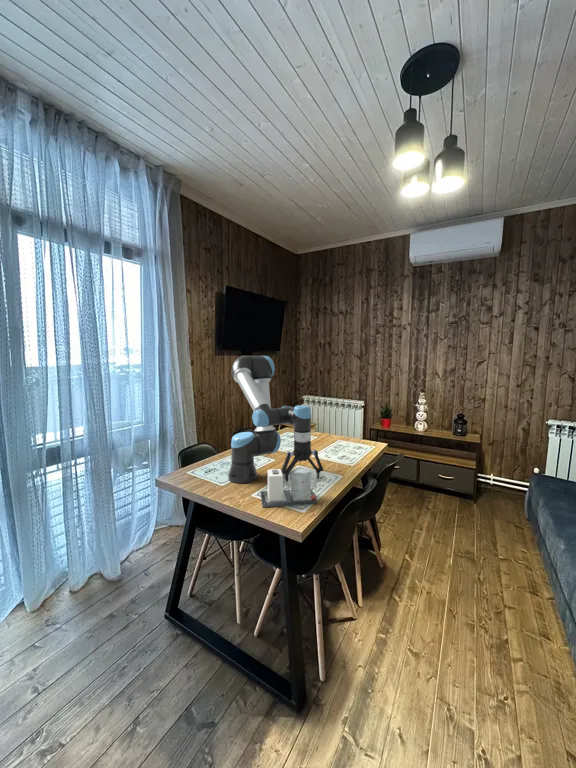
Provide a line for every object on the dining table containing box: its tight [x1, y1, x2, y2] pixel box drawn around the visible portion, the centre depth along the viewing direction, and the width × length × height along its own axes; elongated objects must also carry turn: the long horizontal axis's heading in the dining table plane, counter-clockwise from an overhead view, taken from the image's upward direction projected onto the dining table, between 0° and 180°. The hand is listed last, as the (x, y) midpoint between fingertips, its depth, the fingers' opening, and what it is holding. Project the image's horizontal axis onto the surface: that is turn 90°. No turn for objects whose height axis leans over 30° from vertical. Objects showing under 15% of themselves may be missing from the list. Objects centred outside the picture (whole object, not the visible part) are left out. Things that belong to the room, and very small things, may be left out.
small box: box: [290, 468, 312, 499], centre depth 139 cm, size 8×6×10 cm
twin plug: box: [267, 468, 284, 501], centre depth 137 cm, size 6×8×12 cm
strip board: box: [260, 488, 318, 508], centre depth 139 cm, size 24×12×2 cm, turn 99°
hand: (302, 486), depth 140 cm, fingers open, 12 cm apart
